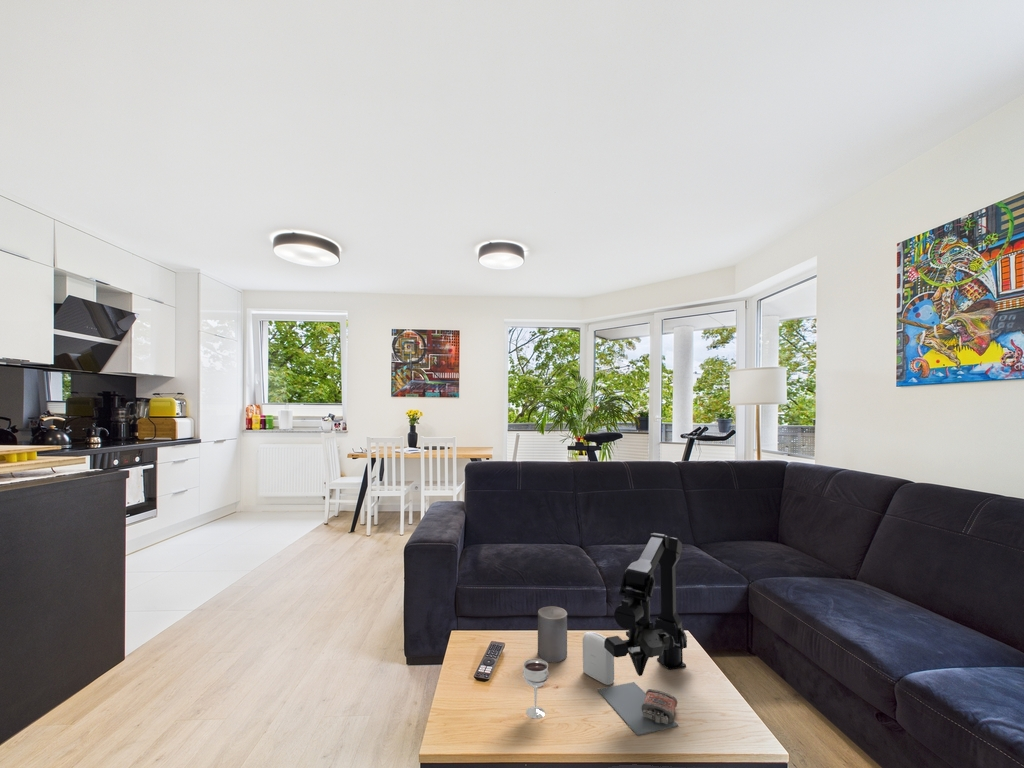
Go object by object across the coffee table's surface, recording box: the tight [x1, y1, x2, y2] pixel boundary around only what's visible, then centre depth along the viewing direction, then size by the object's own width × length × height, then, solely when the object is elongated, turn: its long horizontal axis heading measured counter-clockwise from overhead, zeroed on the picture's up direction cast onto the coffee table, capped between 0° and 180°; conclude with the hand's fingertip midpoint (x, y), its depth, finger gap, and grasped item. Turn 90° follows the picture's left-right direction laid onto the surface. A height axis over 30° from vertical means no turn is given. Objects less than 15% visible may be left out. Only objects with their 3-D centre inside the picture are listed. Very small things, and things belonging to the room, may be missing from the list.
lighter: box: [641, 688, 678, 724], centre depth 122 cm, size 8×3×10 cm
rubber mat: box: [597, 681, 679, 737], centre depth 126 cm, size 12×20×1 cm, turn 18°
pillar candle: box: [537, 605, 568, 663], centre depth 153 cm, size 10×10×15 cm
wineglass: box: [522, 658, 550, 719], centre depth 124 cm, size 7×7×12 cm
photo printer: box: [582, 631, 615, 686], centre depth 140 cm, size 10×4×12 cm, turn 39°
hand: (639, 675), depth 127 cm, fingers closed
